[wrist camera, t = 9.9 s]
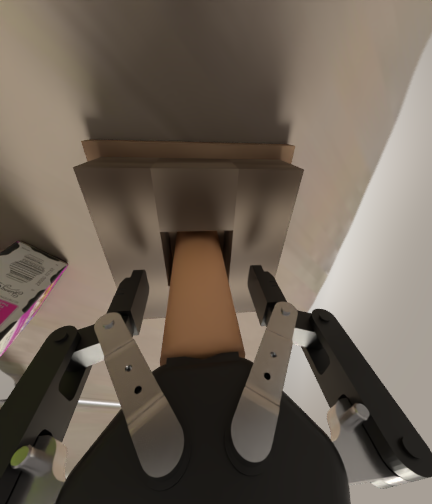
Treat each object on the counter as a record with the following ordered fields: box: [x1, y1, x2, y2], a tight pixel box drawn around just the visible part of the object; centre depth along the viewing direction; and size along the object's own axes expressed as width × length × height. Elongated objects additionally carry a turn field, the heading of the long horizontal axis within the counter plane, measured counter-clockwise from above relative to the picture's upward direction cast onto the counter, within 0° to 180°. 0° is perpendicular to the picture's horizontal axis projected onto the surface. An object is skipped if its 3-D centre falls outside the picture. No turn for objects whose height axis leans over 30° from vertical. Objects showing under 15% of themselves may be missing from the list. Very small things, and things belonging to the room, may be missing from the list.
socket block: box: [73, 139, 304, 319], centre depth 18 cm, size 16×16×6 cm
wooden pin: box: [160, 231, 245, 366], centre depth 14 cm, size 4×4×12 cm
